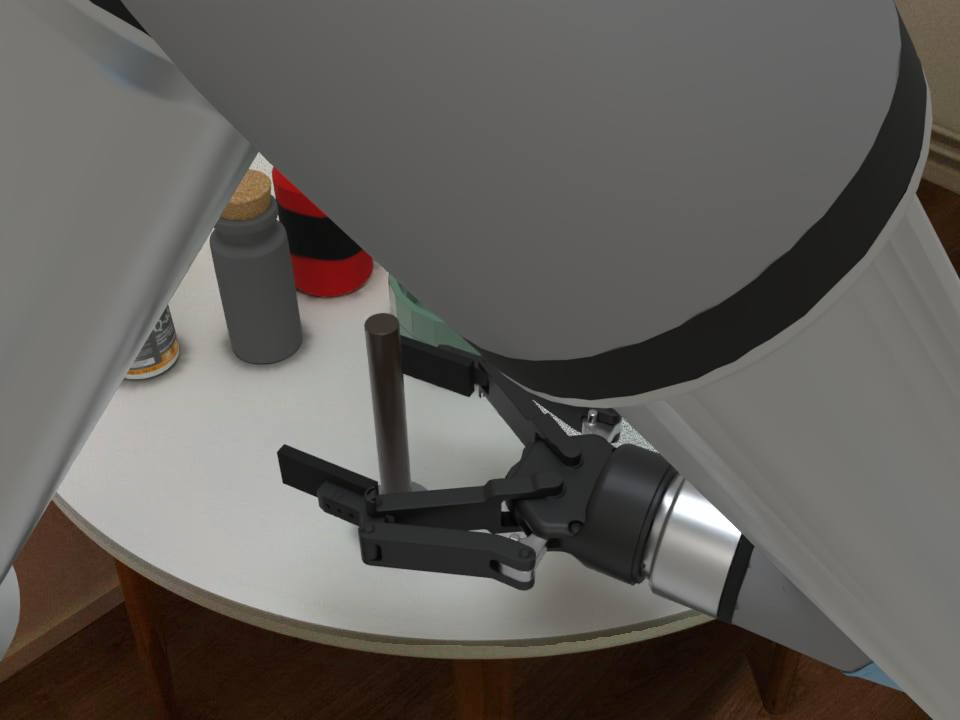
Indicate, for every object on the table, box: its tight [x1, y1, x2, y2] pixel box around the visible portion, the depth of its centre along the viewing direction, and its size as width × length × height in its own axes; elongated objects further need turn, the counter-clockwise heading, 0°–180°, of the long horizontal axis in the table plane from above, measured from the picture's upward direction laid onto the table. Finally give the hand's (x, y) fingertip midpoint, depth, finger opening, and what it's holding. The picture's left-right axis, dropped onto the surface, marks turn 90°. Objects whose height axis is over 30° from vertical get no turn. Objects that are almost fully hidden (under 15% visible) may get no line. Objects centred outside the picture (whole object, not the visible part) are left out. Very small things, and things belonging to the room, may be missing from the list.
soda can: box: [271, 166, 374, 298], centre depth 90 cm, size 8×8×12 cm
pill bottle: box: [124, 304, 180, 380], centre depth 82 cm, size 6×6×10 cm
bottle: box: [209, 168, 303, 365], centre depth 82 cm, size 6×6×15 cm
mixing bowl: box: [387, 273, 481, 356], centre depth 86 cm, size 14×14×6 cm
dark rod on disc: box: [363, 312, 429, 517], centre depth 66 cm, size 5×5×18 cm
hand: (337, 402), depth 67 cm, fingers open, 11 cm apart
